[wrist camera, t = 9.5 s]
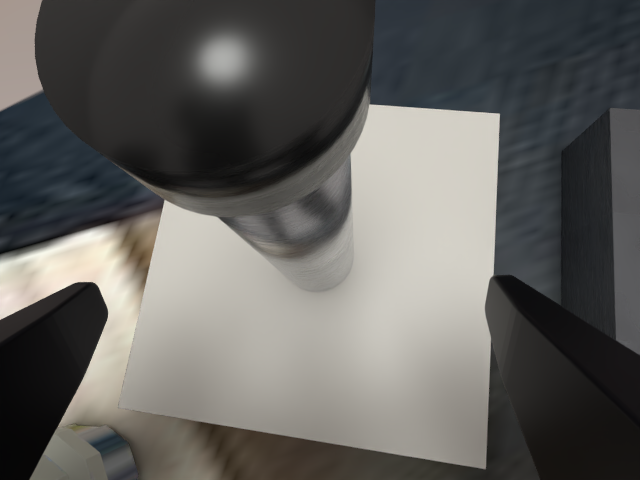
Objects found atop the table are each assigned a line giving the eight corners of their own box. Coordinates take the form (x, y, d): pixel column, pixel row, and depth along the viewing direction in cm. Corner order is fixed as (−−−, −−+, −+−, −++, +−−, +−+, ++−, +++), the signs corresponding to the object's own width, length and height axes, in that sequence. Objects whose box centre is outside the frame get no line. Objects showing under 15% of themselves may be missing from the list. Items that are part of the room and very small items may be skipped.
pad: (477, 461, 15) (485, 469, 14) (131, 403, 17) (117, 407, 16) (492, 125, 19) (499, 113, 18) (197, 103, 20) (189, 91, 19)
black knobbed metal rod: (375, 278, 16) (439, 78, 4) (293, 313, 16) (79, 231, 4) (340, 200, 17) (295, -169, 5) (261, 234, 17) (4, -50, 5)
